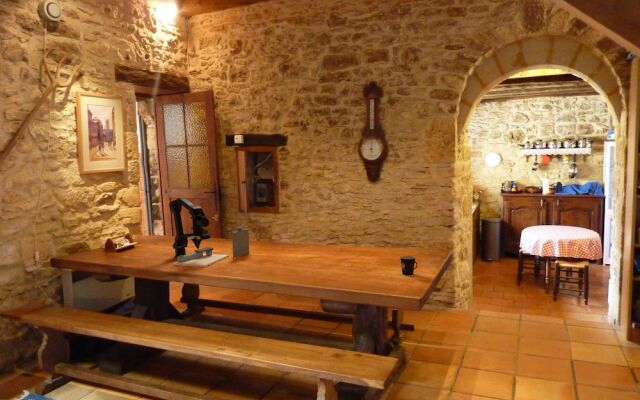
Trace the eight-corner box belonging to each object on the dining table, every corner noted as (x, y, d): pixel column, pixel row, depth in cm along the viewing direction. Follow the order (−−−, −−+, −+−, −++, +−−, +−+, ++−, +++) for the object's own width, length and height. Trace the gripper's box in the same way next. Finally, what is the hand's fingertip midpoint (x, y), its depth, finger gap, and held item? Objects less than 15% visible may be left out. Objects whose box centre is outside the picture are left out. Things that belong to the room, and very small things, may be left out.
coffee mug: (398, 272, 289) (398, 256, 288) (413, 272, 289) (413, 255, 288) (403, 277, 277) (403, 260, 276) (418, 277, 278) (418, 259, 277)
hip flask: (235, 257, 336) (234, 229, 334) (231, 257, 338) (230, 228, 336) (250, 253, 350) (249, 225, 348) (245, 252, 352) (244, 225, 350)
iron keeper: (200, 258, 331) (200, 251, 331) (194, 257, 335) (194, 250, 334) (213, 255, 340) (213, 248, 340) (207, 254, 344) (207, 247, 343)
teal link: (181, 262, 319) (181, 256, 319) (176, 261, 321) (176, 255, 321) (203, 256, 336) (203, 250, 336) (199, 255, 338) (199, 249, 338)
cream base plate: (172, 265, 318) (172, 263, 318) (198, 255, 347) (198, 253, 347) (205, 267, 311) (205, 265, 310) (228, 256, 340) (228, 255, 340)
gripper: (215, 224, 328) (216, 247, 330) (195, 223, 338) (196, 245, 339) (203, 227, 319) (204, 250, 320) (183, 225, 328) (184, 248, 330)
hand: (197, 248), depth 328 cm, fingers closed
